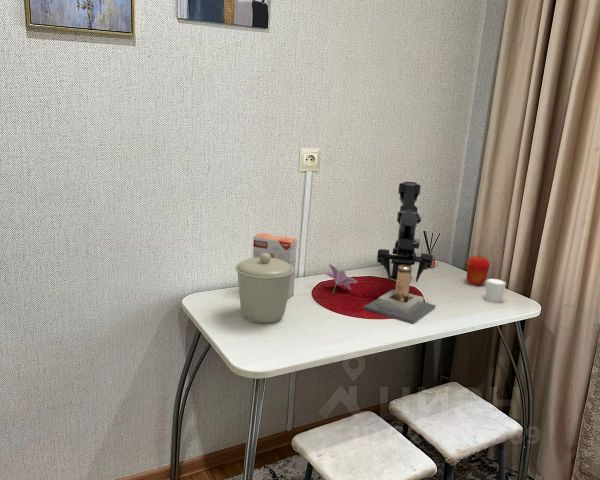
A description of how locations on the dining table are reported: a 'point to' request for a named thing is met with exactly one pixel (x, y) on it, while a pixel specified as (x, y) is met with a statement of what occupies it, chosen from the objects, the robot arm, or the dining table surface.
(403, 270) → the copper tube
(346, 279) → the lily
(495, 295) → the shot glass
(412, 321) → the frame
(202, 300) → the dining table surface
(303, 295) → the dining table surface
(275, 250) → the cracker box
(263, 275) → the canister
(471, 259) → the apple
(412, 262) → the robot arm
